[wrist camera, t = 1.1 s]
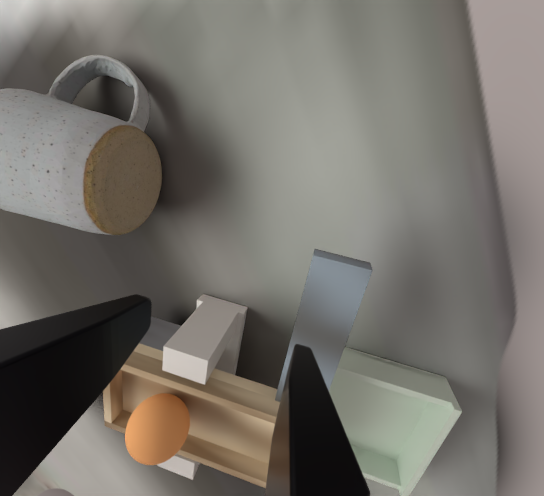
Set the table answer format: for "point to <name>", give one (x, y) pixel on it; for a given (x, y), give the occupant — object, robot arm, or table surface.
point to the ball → (157, 429)
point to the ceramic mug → (78, 154)
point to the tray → (392, 416)
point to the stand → (204, 353)
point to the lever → (236, 390)
